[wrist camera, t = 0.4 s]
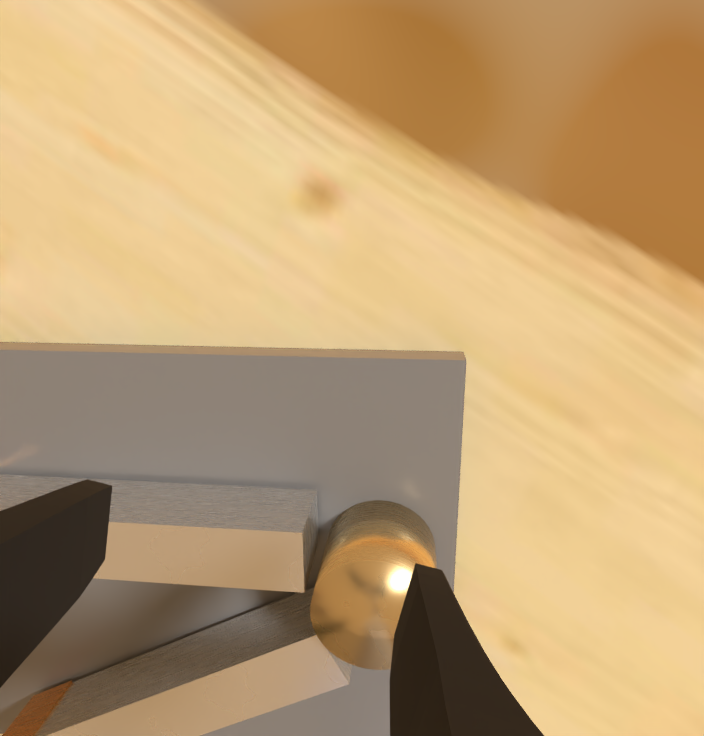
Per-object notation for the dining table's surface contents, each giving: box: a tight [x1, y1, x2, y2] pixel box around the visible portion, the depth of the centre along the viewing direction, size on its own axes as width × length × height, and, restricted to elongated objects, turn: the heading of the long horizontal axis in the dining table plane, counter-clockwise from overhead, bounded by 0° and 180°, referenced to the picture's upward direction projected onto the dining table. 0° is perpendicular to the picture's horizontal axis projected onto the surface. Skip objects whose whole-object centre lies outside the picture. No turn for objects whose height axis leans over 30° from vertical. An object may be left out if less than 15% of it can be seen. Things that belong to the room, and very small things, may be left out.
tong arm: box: [2, 586, 352, 736], centre depth 23 cm, size 16×3×3 cm, turn 118°
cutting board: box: [0, 342, 466, 736], centre depth 24 cm, size 20×24×1 cm
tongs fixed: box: [0, 474, 437, 670], centre depth 21 cm, size 21×5×4 cm, turn 90°
